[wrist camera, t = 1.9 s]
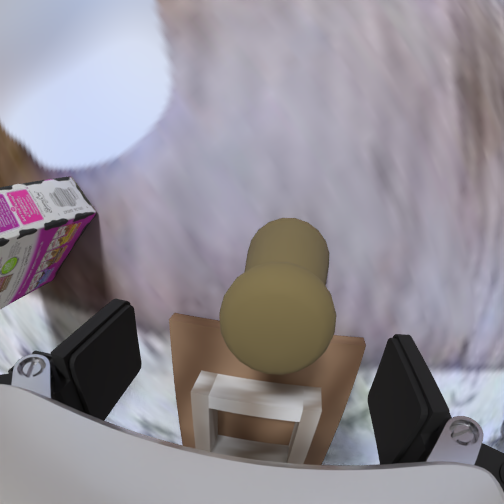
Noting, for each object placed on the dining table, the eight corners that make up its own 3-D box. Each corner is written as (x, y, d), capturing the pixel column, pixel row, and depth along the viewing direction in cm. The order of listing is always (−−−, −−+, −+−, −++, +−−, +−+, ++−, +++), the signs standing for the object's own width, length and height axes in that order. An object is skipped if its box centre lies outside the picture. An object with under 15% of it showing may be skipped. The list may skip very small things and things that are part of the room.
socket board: (363, 337, 23) (372, 368, 19) (316, 468, 28) (314, 495, 24) (174, 312, 25) (153, 337, 21) (187, 448, 31) (176, 472, 27)
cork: (342, 276, 22) (369, 367, 11) (270, 308, 23) (245, 407, 13) (307, 203, 21) (311, 240, 10) (233, 240, 22) (173, 304, 12)
